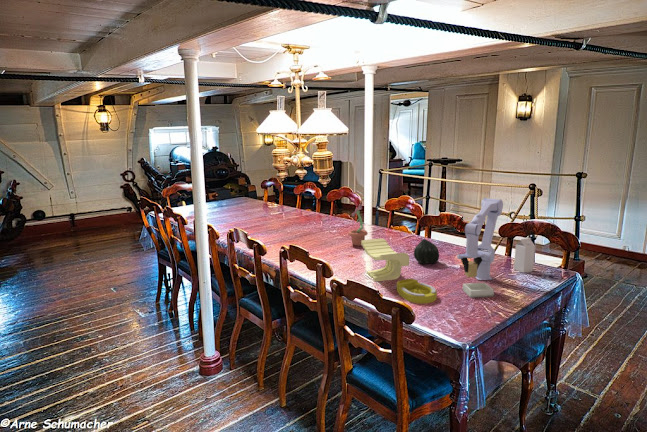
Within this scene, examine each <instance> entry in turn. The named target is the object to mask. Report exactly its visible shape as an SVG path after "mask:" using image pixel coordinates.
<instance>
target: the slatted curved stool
mask: <svg viewBox="0 0 647 432" xmlns="http://www.w3.org/2000/svg"><path fill="white" fill-rule="evenodd" d="M360 246H361V247H362V248H363V249H364V252H366V255H368V256H369V257H370V258H372V260H374V261H385V266H384V267H382V268H379V269H374V270H373V269H372V270H368V271H366V275H367V274H368V275H369V276H370V277H371V278H370V277H369V276H368V275H367V276H368V277H369V278H370V279H372V278H373V279H372V281H374V282H375V281H377V282H382V281H391V280H392V281H393V280H398V279H399V278H400V276H401V273H402V267H408V266H410V256H409V254H408V253H407V252H398V253H397V251H395V250H394V249H392V247H391V246H390V245H389V243H388V241H387V240H386V239H384V238H373V239H371V238H370V239H365V240H361V245H360Z"/></svg>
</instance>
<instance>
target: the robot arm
mask: <svg viewBox="0 0 647 432" xmlns="http://www.w3.org/2000/svg"><path fill="white" fill-rule="evenodd" d="M480 205H481V208H480V210H479V213H477V214H475V215H474V217H472V220H471V221H470V222H468V223H466V225H465V227H464V233H465V238H466V241H465V242H466V243H465V253H460V254H457V255H456V259H458V260H461V262H462V265H463V270H464V273H465V272H467V271H468V263H469V261H470V260H468V259H473V261H474V262H475V263H477V277H474V278H475V279H477V280H478V281H486V280H487V281H488V280H490V281H491V280H493V277H492V276H491V275H490V273H491V264H492V263H494V261H495V258H496V257H495V254H496V251H495V249H494V247H493V246H492V242H493V237H494V234H495V229H496V223H497V220H498V217H500V216H501V215H502V212H503V208H504V201H503V200H502V199H499V198H487V197H484V198H483V199H482V200H481V203H480ZM486 217H487V219H486ZM484 223H485V227H484V231H483V235H482V239H481V242H480V244H479V236H480V234H481V232H482V227H483V225H484Z"/></svg>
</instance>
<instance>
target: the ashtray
mask: <svg viewBox="0 0 647 432" xmlns="http://www.w3.org/2000/svg"><path fill="white" fill-rule="evenodd" d="M396 292H397V293H398V295H399V297H402V298H403V299H404V300H406V301H407V302H410V303H414V304H423V305H424V304H430V303H433V302H435V301H436V300H437V293H438V291H437V289H436V288H435V287H434V286H432V285H431V284H427V283H426V282H425V283H424V282H419V280H418V279H415V278H414V279H413V278H405V279H403V280H402V279H401V280H398V281H397V282H396Z"/></svg>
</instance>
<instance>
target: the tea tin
mask: <svg viewBox="0 0 647 432" xmlns="http://www.w3.org/2000/svg"><path fill="white" fill-rule="evenodd" d="M468 261H469V263H468V271H467V272H465V271H464V275H465V276H466V277H467V278H475V277H477V263H475V262H474V260H471V261H470V260H468Z"/></svg>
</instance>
